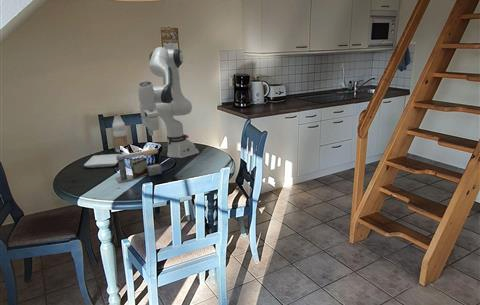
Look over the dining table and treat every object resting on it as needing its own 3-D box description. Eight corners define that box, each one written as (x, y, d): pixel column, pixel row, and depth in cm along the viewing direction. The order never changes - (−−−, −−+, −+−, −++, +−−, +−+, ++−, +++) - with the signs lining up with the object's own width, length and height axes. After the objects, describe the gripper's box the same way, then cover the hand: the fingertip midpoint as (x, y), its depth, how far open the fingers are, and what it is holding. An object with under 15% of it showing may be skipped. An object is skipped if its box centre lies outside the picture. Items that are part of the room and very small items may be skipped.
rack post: (129, 176, 224) (126, 156, 221) (132, 180, 218) (129, 159, 214) (115, 179, 221) (112, 159, 217) (118, 183, 214) (115, 162, 210)
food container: (141, 171, 232) (139, 156, 229) (148, 172, 229) (146, 157, 226) (126, 177, 222) (124, 162, 219) (134, 179, 219) (131, 163, 216)
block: (159, 171, 231) (158, 163, 229) (161, 173, 227) (160, 165, 225) (146, 174, 227) (145, 166, 226) (149, 176, 223) (148, 168, 222)
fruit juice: (115, 153, 270) (110, 115, 262) (115, 149, 279) (109, 113, 270) (129, 151, 273) (124, 114, 265) (128, 148, 282) (123, 112, 273)
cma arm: (117, 161, 212) (117, 157, 211) (115, 158, 217) (115, 155, 216) (159, 153, 223) (158, 149, 223) (155, 150, 228) (155, 147, 228)
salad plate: (93, 159, 260) (93, 155, 259) (124, 157, 261) (123, 153, 260) (83, 170, 239) (82, 165, 238) (117, 168, 241) (116, 163, 240)
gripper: (137, 109, 216) (140, 132, 220) (148, 114, 199) (151, 139, 203) (148, 108, 219) (150, 130, 223) (159, 113, 202) (162, 137, 206)
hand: (151, 135), depth 213 cm, fingers closed
